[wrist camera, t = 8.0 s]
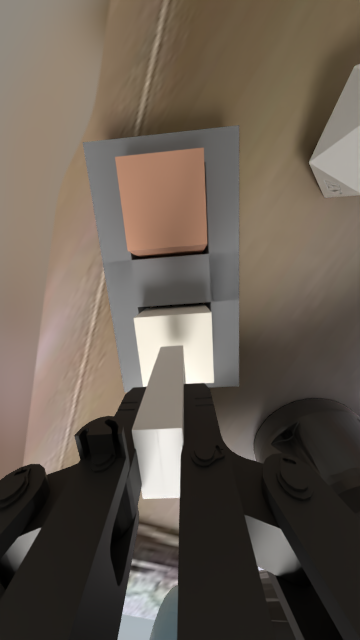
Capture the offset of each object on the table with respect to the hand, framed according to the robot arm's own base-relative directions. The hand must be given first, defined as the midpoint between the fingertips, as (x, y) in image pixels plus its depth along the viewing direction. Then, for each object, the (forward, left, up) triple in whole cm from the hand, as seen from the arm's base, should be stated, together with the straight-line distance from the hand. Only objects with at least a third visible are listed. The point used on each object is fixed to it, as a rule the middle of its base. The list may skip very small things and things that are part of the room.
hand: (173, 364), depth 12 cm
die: (-17, -15, -10) cm, 25 cm away
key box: (0, -5, -10) cm, 11 cm away
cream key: (0, 0, -7) cm, 7 cm away
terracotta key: (0, -11, -8) cm, 14 cm away
